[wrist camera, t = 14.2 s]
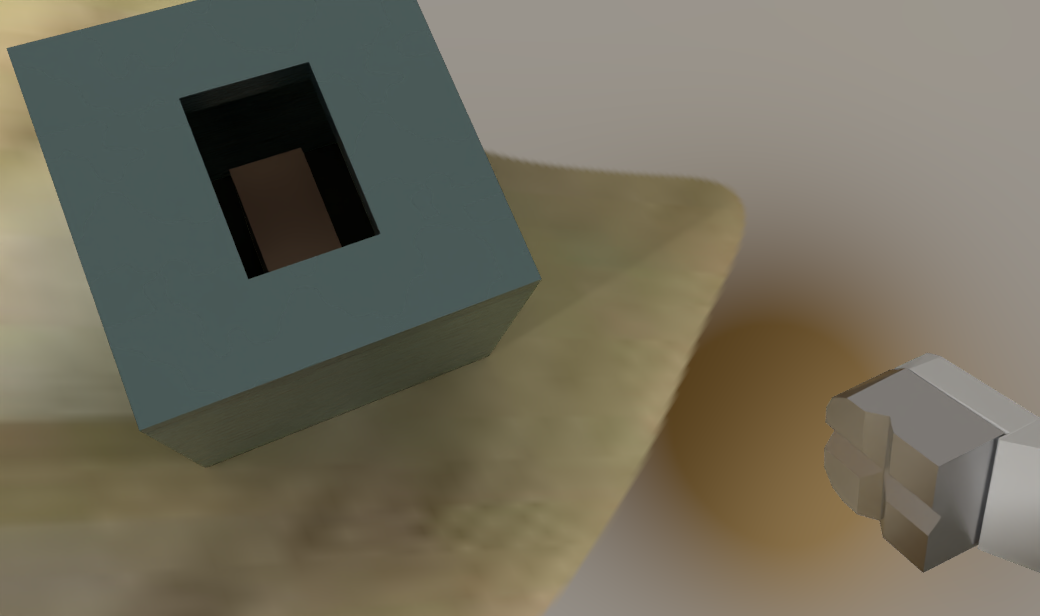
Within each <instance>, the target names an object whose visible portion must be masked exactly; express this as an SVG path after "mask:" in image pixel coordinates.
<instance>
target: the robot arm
mask: <svg viewBox="0 0 1040 616" xmlns="http://www.w3.org/2000/svg"><path fill="white" fill-rule="evenodd" d="M826 423H827V424H828V425H829V426H830V427H831V428H832V429H834V432H833V434H832V436H831V437H830V439H829V441H828V443H827V445H826V446H825V448H824V462H825V463H824V467H825V470H826V473H827V475H828V478H829V480H830V482H831V485H832V487H833V489H834V490H835V491H836V492H837V494H838V495H839V497H840V498H841V499H842V501H843V502H844V503H846V504H847V505H848V506H849V507H850V508H851V509H852V510H853V511H854V512H855V513H856V514H858V515H862V516H865V517H869V518H872V519H876V520H879V521H880V526H881V530H882V535H883V538H884V539H886V541H888V542H889V543H890V544H891V545H892V546H893V547H894V548H896V549H897V550H898V551H899V552H900V553H901V554H902V555H904V556H905V557H906V558H907V559H908V560H909V561H910V562H911V563H913V564H914V565H915V566H916V567H917V568H918V569H919V570H920V571H922V572H926V571H928V570H930V569H932V568H934V567H935V566H938V565H940V564H941V563H943V562H945V561H947V560H949V559H951V558H953V557H955V556H957V555H959V554H961V553H963V552H965V551H967V550H969V549H971V548H973V547H975V546H977V545H978V549H979V550H982V551H985V552H987V553H990V554H992V555H995V556H998V557H1000V558H1003V559H1005V560H1008V561H1010V562H1013V563H1016V564H1018V565H1021V566H1024V567H1026V568H1029V569H1031V570H1034V571H1037V572H1039V573H1040V417H1038V416H1037V415H1035V414H1033V413H1032V412H1030V411H1028V410H1027V409H1025V408H1024V407H1022V406H1020V405H1019V404H1017V403H1016V402H1014V401H1012V400H1011V399H1009V398H1007V397H1006V396H1004V395H1003V394H1001V393H999V392H998V391H996V390H995V389H993V388H991V387H990V386H988V385H987V384H985V383H983V382H982V381H980V380H979V379H977V378H975V377H974V376H972V375H970V374H969V373H967V372H965V371H964V370H962V369H961V368H959V367H957V366H956V365H954V364H953V363H951V362H950V361H948V360H946V359H945V358H943V357H942V356H939V355H935V354H930V353H926V354H924V355H922V356H920V357H917V358H915V359H913V360H911V361H909V362H907V363H905V364H902V365H901V366H898V367H896V368H895V369H892V370H888V371H886V372H884V373H882V374H880V375H878V376H876V377H874V378H872V379H870V380H868V381H866V382H863V383H861V384H859V385H857V386H855V387H853V388H851V389H849V390H847V391H845V392H843V393H840V394H838V395H837V396H834V397H832V399H831V400H830V402H829V404H828V405H827V407H826Z"/></svg>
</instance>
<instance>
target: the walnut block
mask: <svg viewBox="0 0 1040 616" xmlns="http://www.w3.org/2000/svg"><path fill="white" fill-rule="evenodd" d="M229 171H230V174H231V178H232V181H233V184H234V187H235V190H236V193H237V196H238V199H239V202H240V205H241V208H242V211H243V215H244V218H245V221H246V224H247V227H248V230H249V233H250V236H251V239H252V242H253V245H254V248H255V250H256V253H257V256H258V258H259V261H260V263H261V266H262V268H263V271H264V274H265V273H268V272H271V271H274V270H277V269H280V268H283V267H286V266H289V265H292V264H295V263H298V262H300V261H303V260H306V259H309V258H312V257H315V256H318V255H321V254H324V253H327V252H330V251H333V250H335V249H338V248H341V244H340V242H339V239H338V237H337V234H336V232H335V229H334V227H333V225H332V222H331V220H330V217H329V215H328V212H327V210H326V207H325V205H324V203H323V200H322V198H321V195H320V193H319V190H318V188H317V185H316V183H315V180H314V178H313V176H312V173H311V171H310V168H309V166H308V163H307V161H306V158H305V156H304V153H303V151H302V149H301V148H298V149H295V150H291V151H288V152H285V153H282V154H278V155H275V156H272V157H269V158H265V159H262V160H259V161H255V162H252V163H249V164H246V165H242V166H239V167H236V168H233V169H229Z"/></svg>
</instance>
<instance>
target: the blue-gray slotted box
mask: <svg viewBox="0 0 1040 616" xmlns="http://www.w3.org/2000/svg"><path fill="white" fill-rule="evenodd" d="M7 51H8V54H9V57H10V59H11V62H12V65H13V68H14V71H15V74H16V77H17V80H18V82H19V85H20V88H21V91H22V94H23V97H24V100H25V103H26V105H27V108H28V111H29V114H30V117H31V120H32V123H33V126H34V128H35V131H36V134H37V137H38V140H39V143H40V146H41V149H42V152H43V154H44V157H45V160H46V163H47V166H48V169H49V172H50V175H51V177H52V180H53V183H54V186H55V189H56V192H57V195H58V198H59V200H60V203H61V206H62V209H63V212H64V215H65V218H66V221H67V223H68V226H69V229H70V232H71V235H72V238H73V241H74V244H75V246H76V249H77V252H78V255H79V258H80V261H81V264H82V267H83V269H84V272H85V275H86V278H87V281H88V284H89V287H90V290H91V293H92V295H93V298H94V301H95V304H96V307H97V310H98V313H99V316H100V318H101V321H102V324H103V327H104V330H105V333H106V336H107V339H108V341H109V344H110V347H111V350H112V353H113V356H114V359H115V362H116V364H117V367H118V370H119V373H120V376H121V379H122V382H123V385H124V387H125V390H126V393H127V396H128V399H129V402H130V405H131V408H132V411H133V413H134V416H135V419H136V422H137V425H138V428H139V431H141V432H143V433H145V434H146V435H148V436H150V437H152V438H154V439H155V440H157V441H159V442H161V443H162V444H164V445H166V446H168V447H170V448H171V449H173V450H175V451H177V452H178V453H180V454H182V455H184V456H186V457H187V458H189V459H191V460H193V461H194V462H196V463H198V464H200V465H202V466H203V467H205V468H206V467H209V466H211V465H214V464H216V463H219V462H222V461H224V460H227V459H229V458H232V457H234V456H237V455H239V454H242V453H244V452H247V451H249V450H252V449H254V448H257V447H259V446H262V445H265V444H267V443H270V442H272V441H275V440H277V439H280V438H282V437H285V436H287V435H290V434H292V433H295V432H297V431H300V430H302V429H305V428H307V427H310V426H313V425H315V424H318V423H320V422H323V421H325V420H328V419H330V418H333V417H335V416H338V415H340V414H343V413H345V412H348V411H350V410H353V409H356V408H358V407H361V406H363V405H366V404H368V403H371V402H373V401H376V400H378V399H381V398H383V397H386V396H388V395H391V394H393V393H396V392H398V391H401V390H404V389H406V388H409V387H411V386H414V385H416V384H419V383H421V382H424V381H426V380H429V379H431V378H434V377H436V376H439V375H441V374H444V373H447V372H449V371H452V370H454V369H457V368H459V367H462V366H464V365H467V364H469V363H472V362H474V361H477V360H479V359H482V358H484V357H487V356H489V355H490V353H491V352H492V350H493V349H494V347H495V346H496V345H497V343H498V342H499V340H500V339H501V337H502V336H503V334H504V333H505V332H506V330H507V329H508V327H509V326H510V324H511V323H512V321H513V320H514V318H515V317H516V316H517V314H518V313H519V311H520V310H521V308H522V307H523V305H524V304H525V303H526V301H527V300H528V298H529V297H530V295H531V294H532V292H533V291H534V290H535V288H536V287H537V285H538V284H539V282H540V281H541V277H540V274H539V272H538V270H537V268H536V265H535V263H534V261H533V259H532V257H531V254H530V252H529V250H528V248H527V245H526V243H525V241H524V239H523V236H522V234H521V232H520V230H519V228H518V225H517V223H516V221H515V219H514V216H513V214H512V212H511V210H510V207H509V205H508V203H507V201H506V199H505V196H504V194H503V192H502V190H501V187H500V185H499V183H498V181H497V178H496V176H495V174H494V172H493V170H492V167H491V165H490V163H489V161H488V158H487V156H486V154H485V152H484V149H483V147H482V145H481V143H480V141H479V138H478V136H477V134H476V132H475V129H474V127H473V125H472V123H471V121H470V118H469V116H468V114H467V112H466V109H465V107H464V105H463V103H462V100H461V99H460V96H459V94H458V92H457V90H456V87H455V85H454V83H453V80H452V78H451V76H450V74H449V72H448V69H447V67H446V65H445V63H444V60H443V58H442V56H441V54H440V52H439V49H438V47H437V45H436V43H435V40H434V38H433V36H432V34H431V31H430V29H429V27H428V25H427V22H426V20H425V18H424V16H423V14H422V11H421V9H420V7H419V5H418V2H417V0H196V1H192V2H188V3H184V4H180V5H176V6H172V7H168V8H164V9H160V10H156V11H153V12H149V13H145V14H141V15H137V16H133V17H129V18H125V19H121V20H117V21H113V22H109V23H105V24H101V25H97V26H93V27H89V28H85V29H81V30H77V31H73V32H69V33H65V34H61V35H57V36H53V37H50V38H46V39H42V40H38V41H34V42H30V43H26V44H22V45H18V46H14V47H10V48H7ZM334 143H337V144H338V146H339V148H340V151H341V153H342V156H343V158H344V160H345V163H346V165H347V168H348V170H349V172H350V175H351V177H352V180H353V182H354V184H355V187H356V189H357V192H358V194H359V196H360V199H361V201H362V204H363V206H364V209H365V211H366V213H367V216H368V218H369V221H370V223H371V225H372V228H373V230H374V233H375V235H376V236H373V237H370V238H368V239H365V240H362V241H359V242H356V243H353V244H350V245H347V246H344V247H341V248H338V249H335V250H333V251H330V252H327V253H324V254H321V255H318V256H315V257H312V258H309V259H306V260H303V261H300V262H298V263H295V264H292V265H289V266H286V267H283V268H280V269H277V270H274V271H271V272H268V273H265V274H262V275H260V276H257V277H254V278H251V279H248V277H247V275H246V272H245V269H244V267H243V264H242V262H241V259H240V256H239V254H238V251H237V248H236V246H235V243H234V241H233V238H232V235H231V233H230V230H229V228H228V225H227V222H226V220H225V217H224V215H223V212H222V209H221V207H220V204H219V202H218V199H217V196H216V194H215V191H214V189H213V186H212V183H211V181H214V180H218V179H221V178H224V177H227V176H231V174H230V171H229V169H233V168H236V167H239V166H242V165H246V164H249V163H252V162H255V161H259V160H262V159H265V158H269V157H272V156H275V155H278V154H282V153H285V152H288V151H291V150H295V149H298V148H301V149H302V151H303V153H305V152H308V151H312V150H315V149H318V148H321V147H324V146H328V145H331V144H334Z"/></svg>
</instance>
